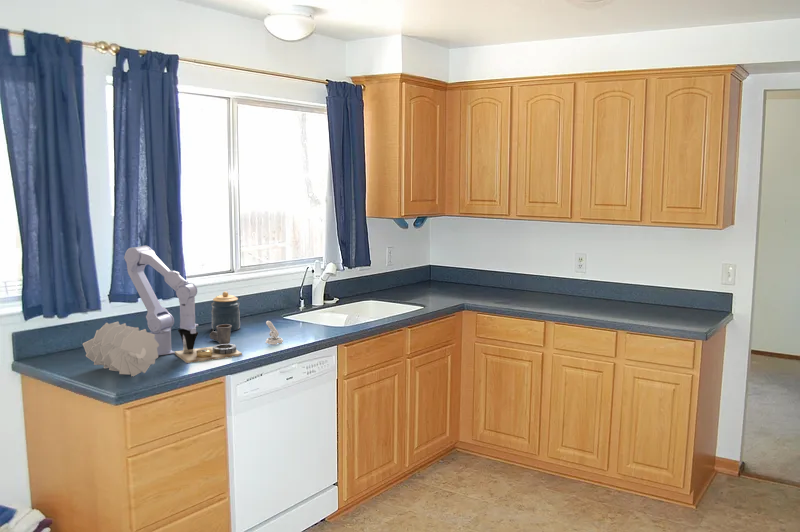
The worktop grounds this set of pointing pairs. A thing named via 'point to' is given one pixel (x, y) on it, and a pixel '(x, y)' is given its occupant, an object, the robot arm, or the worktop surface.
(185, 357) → the fitting board
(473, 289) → the worktop surface
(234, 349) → the socket large
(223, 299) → the canister
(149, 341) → the spiral staircase
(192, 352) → the pipe stub
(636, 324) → the worktop surface
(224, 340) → the pipe
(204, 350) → the plug small
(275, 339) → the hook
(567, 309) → the worktop surface
